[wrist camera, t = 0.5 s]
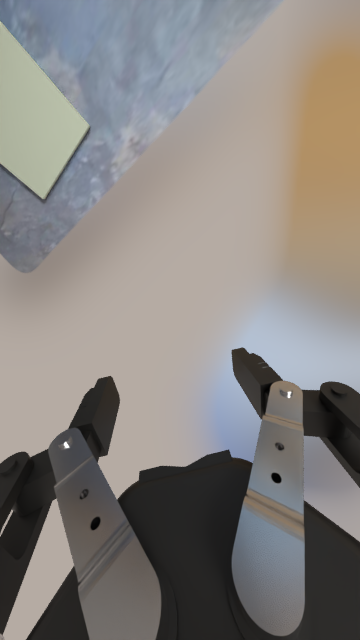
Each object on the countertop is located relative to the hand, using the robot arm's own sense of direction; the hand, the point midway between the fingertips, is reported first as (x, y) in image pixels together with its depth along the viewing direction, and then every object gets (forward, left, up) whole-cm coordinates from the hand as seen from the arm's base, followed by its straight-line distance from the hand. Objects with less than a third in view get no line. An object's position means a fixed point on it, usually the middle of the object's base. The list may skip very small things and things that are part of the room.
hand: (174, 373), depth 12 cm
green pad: (-23, -1, -29) cm, 37 cm away
